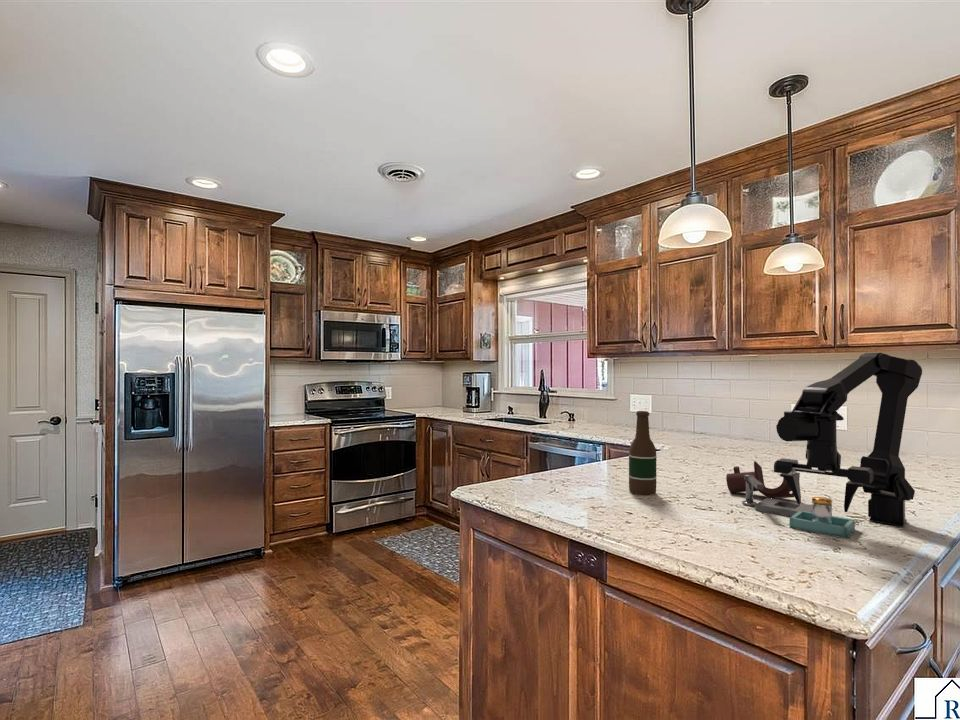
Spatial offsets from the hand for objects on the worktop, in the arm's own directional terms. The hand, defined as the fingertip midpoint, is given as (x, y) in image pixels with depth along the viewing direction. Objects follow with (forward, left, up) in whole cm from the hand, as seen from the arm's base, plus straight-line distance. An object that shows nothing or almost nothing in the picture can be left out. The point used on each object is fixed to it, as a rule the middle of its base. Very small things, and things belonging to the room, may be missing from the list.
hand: (822, 507), depth 121 cm
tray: (0, 0, -5) cm, 5 cm away
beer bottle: (+46, -3, -5) cm, 46 cm away
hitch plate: (+12, -11, -5) cm, 17 cm away
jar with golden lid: (0, 0, -4) cm, 4 cm away
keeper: (+17, -7, +2) cm, 18 cm away
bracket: (+20, -24, -5) cm, 32 cm away
